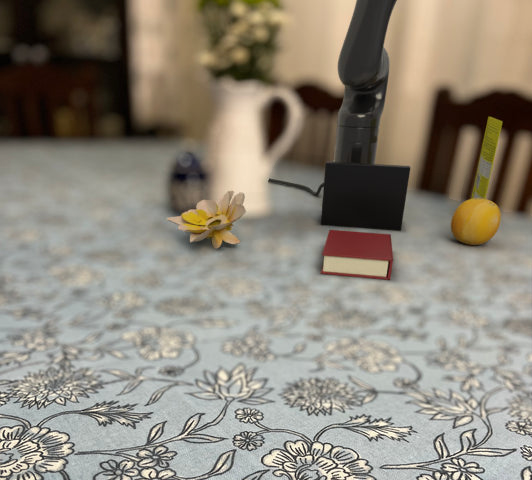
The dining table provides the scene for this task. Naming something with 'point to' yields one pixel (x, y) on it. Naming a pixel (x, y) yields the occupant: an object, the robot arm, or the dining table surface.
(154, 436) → the dining table surface
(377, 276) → the book
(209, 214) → the decorative flower
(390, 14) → the robot arm
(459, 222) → the fruit
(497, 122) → the food package
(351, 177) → the bookend
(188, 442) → the dining table surface
